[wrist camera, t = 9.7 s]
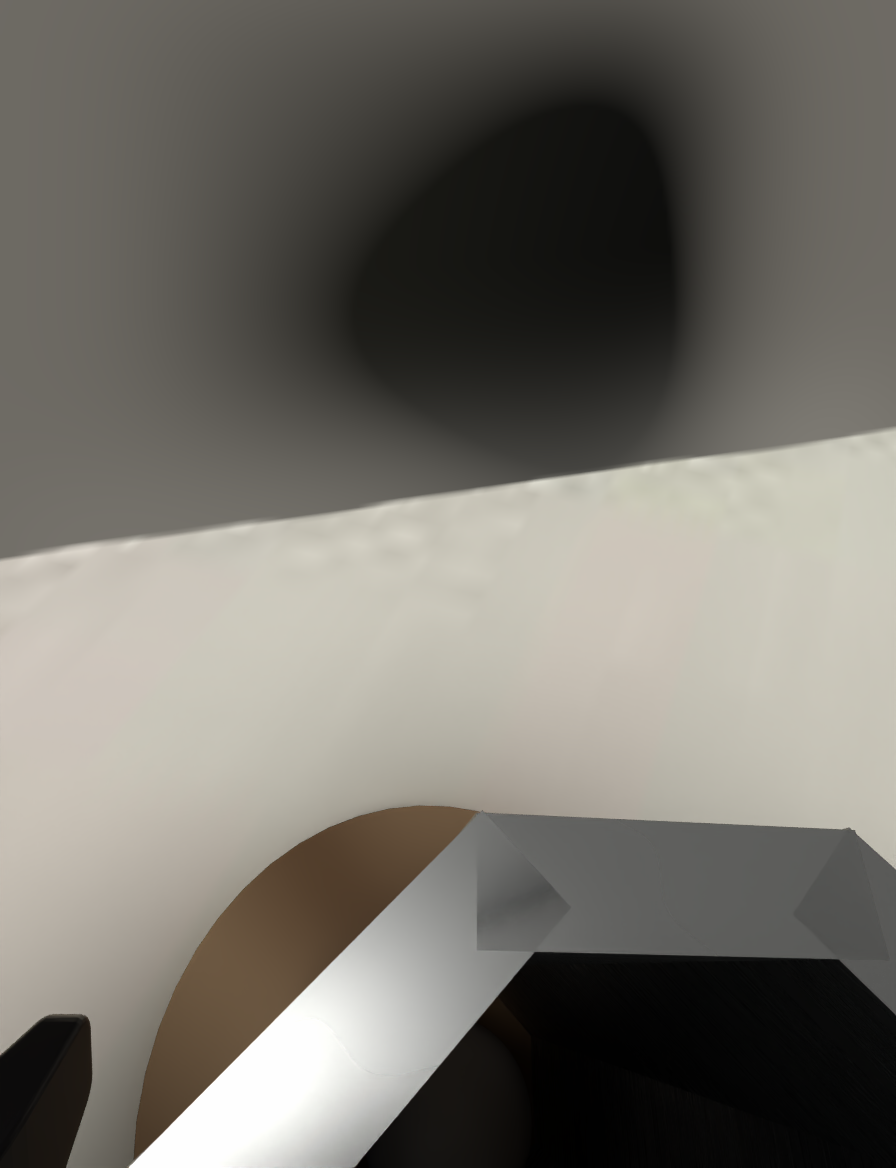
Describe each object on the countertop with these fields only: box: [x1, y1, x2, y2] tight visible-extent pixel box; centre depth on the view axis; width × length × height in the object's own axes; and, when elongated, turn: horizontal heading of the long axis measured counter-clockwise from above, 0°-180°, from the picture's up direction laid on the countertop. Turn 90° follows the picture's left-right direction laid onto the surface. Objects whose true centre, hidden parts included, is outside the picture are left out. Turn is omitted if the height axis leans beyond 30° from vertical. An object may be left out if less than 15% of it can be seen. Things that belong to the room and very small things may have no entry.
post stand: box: [134, 806, 535, 1168], centre depth 12 cm, size 11×11×5 cm
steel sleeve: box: [126, 810, 896, 1168], centre depth 8 cm, size 6×6×12 cm
